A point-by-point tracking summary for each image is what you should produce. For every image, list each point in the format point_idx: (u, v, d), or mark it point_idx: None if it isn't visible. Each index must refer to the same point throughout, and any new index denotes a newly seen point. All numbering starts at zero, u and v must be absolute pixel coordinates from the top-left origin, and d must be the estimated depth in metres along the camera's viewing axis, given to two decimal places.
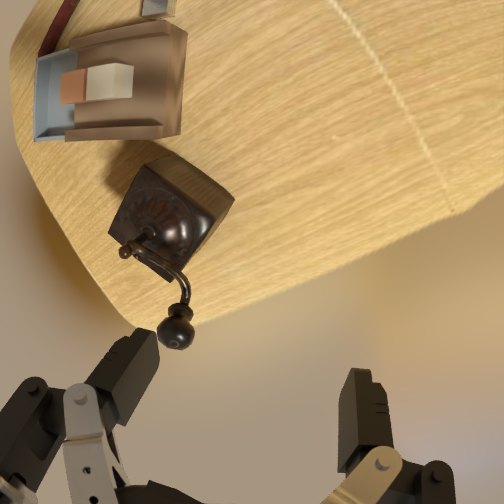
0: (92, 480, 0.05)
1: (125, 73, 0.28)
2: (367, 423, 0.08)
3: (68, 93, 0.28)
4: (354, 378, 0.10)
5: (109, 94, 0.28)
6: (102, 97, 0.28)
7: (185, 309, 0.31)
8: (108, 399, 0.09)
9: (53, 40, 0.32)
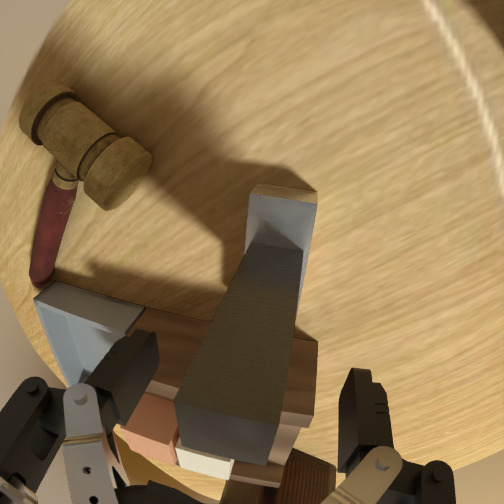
0: (92, 480, 0.05)
1: None
2: (367, 423, 0.08)
3: (144, 450, 0.20)
4: (354, 378, 0.10)
5: (222, 477, 0.19)
6: (210, 475, 0.20)
7: None
8: (108, 399, 0.09)
9: (49, 265, 0.23)
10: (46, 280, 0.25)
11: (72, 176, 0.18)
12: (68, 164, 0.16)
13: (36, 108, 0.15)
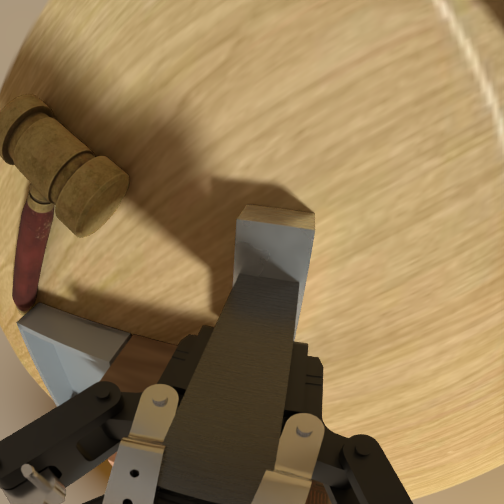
0: (135, 484, 0.05)
1: None
2: (294, 391, 0.09)
3: None
4: None
5: None
6: None
7: None
8: None
9: (31, 289, 0.21)
10: (30, 303, 0.23)
11: (46, 199, 0.16)
12: (39, 187, 0.14)
13: (6, 126, 0.13)
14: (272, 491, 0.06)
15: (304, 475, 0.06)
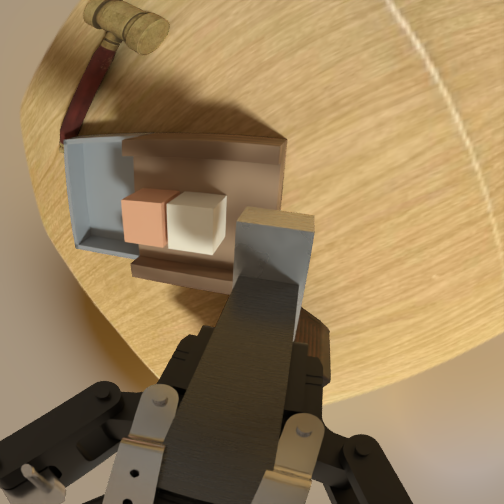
0: (135, 484, 0.05)
1: (221, 212, 0.26)
2: (294, 391, 0.09)
3: (137, 231, 0.26)
4: None
5: (206, 250, 0.25)
6: (195, 251, 0.26)
7: None
8: None
9: (80, 117, 0.30)
10: (73, 133, 0.31)
11: (116, 40, 0.25)
12: (117, 27, 0.23)
13: (99, 1, 0.21)
14: (272, 491, 0.06)
15: (304, 475, 0.06)
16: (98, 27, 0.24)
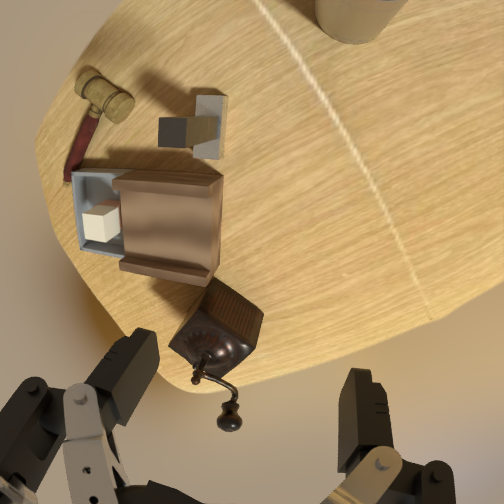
0: (92, 480, 0.05)
1: (112, 217, 0.42)
2: (367, 423, 0.08)
3: None
4: (354, 378, 0.10)
5: (102, 239, 0.41)
6: (97, 240, 0.41)
7: (234, 405, 0.42)
8: (108, 399, 0.09)
9: (77, 163, 0.44)
10: None
11: (98, 111, 0.39)
12: (98, 103, 0.37)
13: (84, 80, 0.36)
14: None
15: None
16: (86, 98, 0.39)
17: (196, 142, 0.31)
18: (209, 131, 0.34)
